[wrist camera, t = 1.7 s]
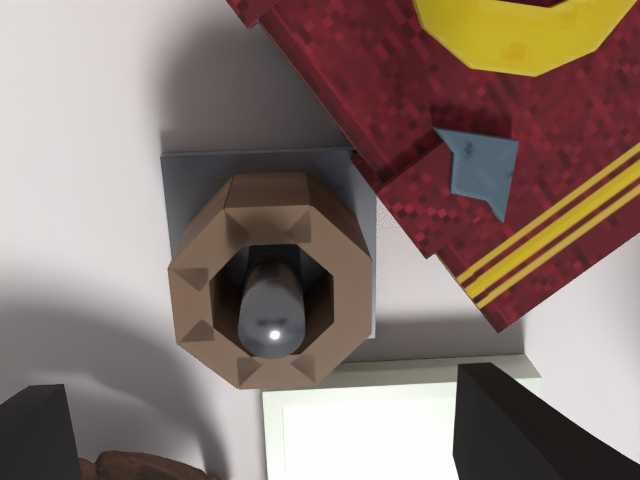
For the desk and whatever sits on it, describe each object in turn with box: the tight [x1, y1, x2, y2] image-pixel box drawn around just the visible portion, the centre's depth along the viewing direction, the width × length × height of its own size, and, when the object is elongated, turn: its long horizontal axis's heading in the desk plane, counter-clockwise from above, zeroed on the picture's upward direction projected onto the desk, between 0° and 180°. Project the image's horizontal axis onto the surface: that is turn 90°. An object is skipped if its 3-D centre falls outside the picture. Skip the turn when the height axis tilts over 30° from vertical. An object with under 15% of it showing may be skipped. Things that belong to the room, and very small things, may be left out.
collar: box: [168, 171, 372, 390], centre depth 18 cm, size 5×5×4 cm
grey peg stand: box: [160, 146, 376, 359], centre depth 17 cm, size 6×6×6 cm
